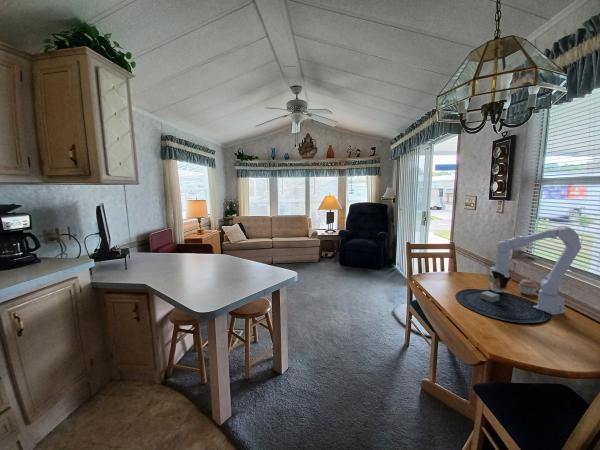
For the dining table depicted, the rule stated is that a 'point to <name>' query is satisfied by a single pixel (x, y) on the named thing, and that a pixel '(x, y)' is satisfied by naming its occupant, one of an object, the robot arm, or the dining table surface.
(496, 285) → the terracotta cube
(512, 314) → the dining table surface
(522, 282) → the cupcake
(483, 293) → the slate slab block
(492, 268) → the syrup box
